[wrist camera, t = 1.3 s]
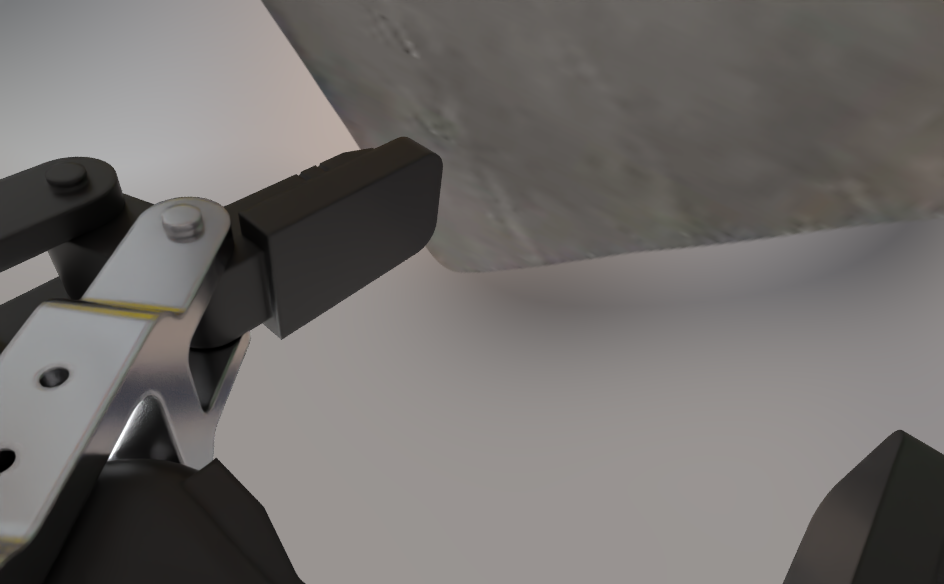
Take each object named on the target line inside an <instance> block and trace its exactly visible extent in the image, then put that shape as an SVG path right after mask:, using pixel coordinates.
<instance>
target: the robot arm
mask: <svg viewBox="0 0 944 584" xmlns="http://www.w3.org/2000/svg"><path fill="white" fill-rule="evenodd" d="M442 170H443V163H442V159H441V158H440V156H439V155H437V154H436V153H434V152H432V151H431V150H429V149H427V148H425V147H424V146H422V145H420V144H419V143H417V142H415V141H414V140H412V139H410V138H408V137H399V138H397V139H395V140H393V141H390V142H388V143H386V144H384V145H382V146H380V147H377V148H375V149H373V148H369V149H363V150H357V151H351V152H345V153H342V154H340V155H337V156H335V157H333V158H331V159H329V160H326V161H324V162H322V163H320V165H319V166H318V167H317V166H316V165H315V166H313V167H311V168H309V169H306V170H304V171H302V172H301V174H300V175H299V176H298V175H297V174H296V175H293V176H291V177H289V178H287V179H285V180H282V181H280V182H278V183H276V184H274V185H271V186H269V187H267V188H265V189H262V190H260V191H258V192H256V193H253V194H251V195H249V196H247V197H245V198H243V199H240V200H238V201H236V202H234V203H231V204H229V205H227V206H224V207H223V206H221V205H220V204H219V203H217V202H214V201H212V200H209V199H205V198H200V197H179V198H173V199H169V200H165V201H162V202H159V203H157V204H155V205H154V204H152V203H149V202H146V201H143V200H140V199H138V198H135V197H132V196H129V195H126V194H123V193H122V190H121V187H120V184H119V181H118V177H117V174H116V171H115V170H114V168H113V167H112V166H111V165H109V164H108V163H106V162H104V161H102V160H99V159H95V158H89V157H68V158H61V159H56V160H52V161H49V162H46V163H43V164H41V165H38V166H35V167H32V168H30V169H27V170H24V171H22V172H19V173H16V174H14V175H11V176H8V177H6V178H3V179H0V272H2V271H5V270H7V269H9V268H11V267H13V266H15V265H18V264H20V263H22V262H24V261H26V260H28V259H30V258H33V257H35V256H37V255H39V254H41V253H44V252H45V251H48V253H49V255H50V257H51V259H52V262H53V264H54V266H55V268H56V270H57V273H58V275H59V277H57V278H54V279H53V280H50V281H48V282H46V283H44V284H42V285H40V286H38V287H36V288H35V289H32V290H30V291H28V292H26V293H24V294H22V295H20V296H18V297H16V298H14V299H12V300H10V301H8V302H6V303H4V304H2V305H0V584H305V583H304V582H302V580H300V578H299V577H298V575H297V574H296V572H295V570H294V568H293V566H292V564H291V562H290V560H289V558H288V556H287V554H286V552H285V549H284V547H283V546H282V543H281V541H280V539H279V537H278V535H277V533H276V531H275V529H274V527H273V525H272V523H271V521H270V519H269V517H268V514H267V512H266V510H265V508H264V507H263V506H262V505H261V504H260V502H258V500H257V499H256V498H255V497H254V496H253V495H252V494H251V493H250V492H249V491H248V490H247V489H246V488H245V487H244V486H243V485H242V484H241V483H240V482H239V481H238V480H237V479H236V478H235V477H234V475H233V474H231V472H230V471H229V470H228V469H227V468H226V467H225V466H224V465H223V464H222V463H221V462H220V461H219V460H218V459H217V458H215V459H214V460H213V454H214V437H215V431H216V427H217V424H218V421H219V419H220V416H221V414H222V411H223V409H224V406H225V404H226V401H227V399H228V396H229V394H230V391H231V389H232V386H233V383H234V381H235V378H236V376H237V374H238V371H239V369H240V366H241V364H242V361H243V359H244V356H245V354H246V351H247V348H248V346H249V343H250V339H251V332H250V330H252V329H253V328H255V327H257V326H258V325H260V324H262V323H263V324H264V325H265V326H266V327H267V328H268V329H270V330H271V331H272V332H273V333H274V334H275V335H277V336H278V337H279V338H280V339H281V340H282V339H283V338H285V337H286V336H288V335H289V334H291V333H293V332H294V331H296V330H297V329H299V328H300V327H302V326H304V325H305V324H307V323H308V322H310V321H311V320H313V319H315V318H316V317H318V316H319V315H321V314H322V313H324V312H326V311H327V310H328V309H330V308H332V307H333V306H335V305H336V304H338V303H339V302H341V301H343V300H344V299H346V298H347V297H349V296H351V295H352V294H354V293H355V292H357V291H358V290H360V289H361V288H363V287H364V286H366V285H368V284H369V283H371V282H372V281H374V280H375V279H377V278H379V277H380V276H382V275H383V274H385V273H386V272H388V271H390V270H391V269H393V268H394V267H396V266H397V265H399V264H401V263H402V262H404V261H405V260H407V259H408V258H410V257H411V256H413V255H415V254H416V253H418V252H419V251H420V250H421V249H422V248H424V246H425V245H426V244H427V243H428V242H429V240H430V238H431V237H432V235H433V233H434V230H435V227H436V223H437V214H438V206H439V197H440V188H441V179H442ZM783 584H944V455H943V454H942V453H940V452H938V451H937V450H935V449H933V448H932V447H930V446H928V445H926V444H925V443H923V442H921V441H920V440H918V439H916V438H914V437H913V436H911V435H909V434H908V433H906V432H904V431H902V430H897V431H895V432H894V433H892V434H891V435H890V436H888V437H887V438H886V439H885V440H884V441H883V442H882V443H881V444H880V445H879V446H878V447H877V448H875V449H874V450H873V451H872V452H871V453H870V454H869V455H868V456H867V457H866V458H865V459H863V460H862V461H861V462H860V463H859V464H858V465H857V466H856V467H855V468H854V469H853V470H852V471H850V472H849V473H848V474H847V475H846V476H845V477H844V478H843V479H842V480H841V481H839V482H838V483H837V484H836V485H835V486H834V487H833V488H832V490H831V491H830V492H829V493H828V494H827V496H826V497H825V498H824V500H823V501H822V502H821V504H820V505H819V507H818V508H817V510H816V512H815V514H814V515H813V517H812V519H811V521H810V523H809V525H808V528H807V530H806V532H805V534H804V537H803V539H802V541H801V543H800V546H799V548H798V550H797V553H796V555H795V557H794V559H793V562H792V564H791V566H790V569H789V571H788V573H787V575H786V578H785V580H784V582H783Z"/></svg>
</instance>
